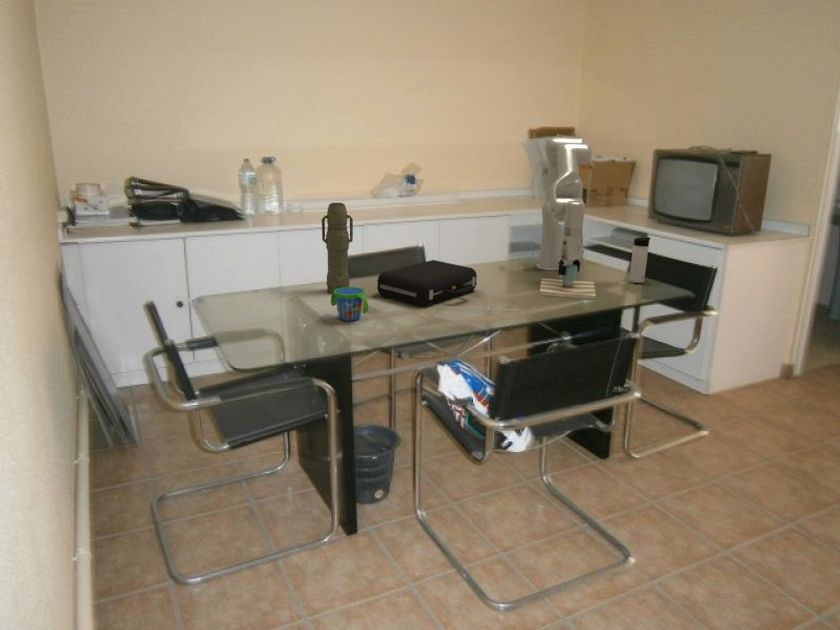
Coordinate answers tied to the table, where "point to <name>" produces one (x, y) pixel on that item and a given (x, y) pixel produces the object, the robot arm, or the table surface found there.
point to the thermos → (337, 245)
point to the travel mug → (639, 260)
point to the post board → (567, 288)
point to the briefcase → (426, 282)
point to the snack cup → (349, 302)
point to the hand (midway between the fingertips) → (568, 273)
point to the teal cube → (570, 273)
